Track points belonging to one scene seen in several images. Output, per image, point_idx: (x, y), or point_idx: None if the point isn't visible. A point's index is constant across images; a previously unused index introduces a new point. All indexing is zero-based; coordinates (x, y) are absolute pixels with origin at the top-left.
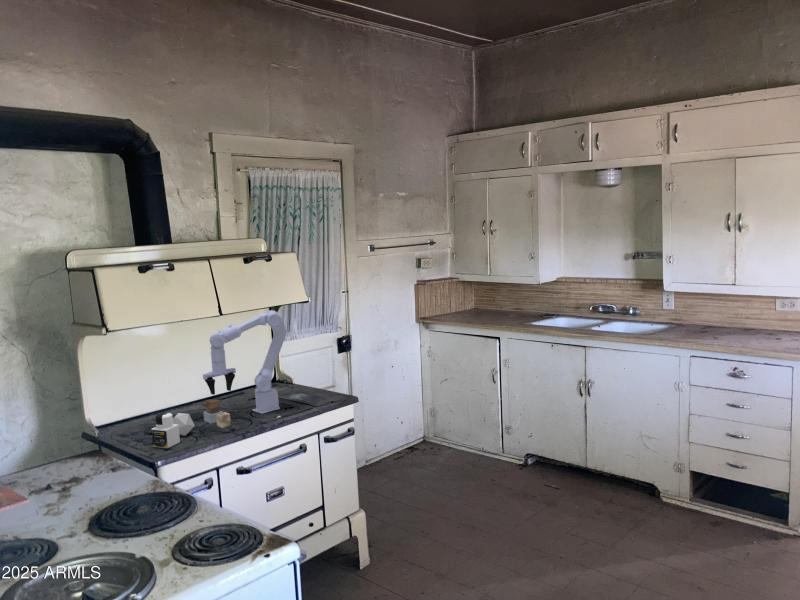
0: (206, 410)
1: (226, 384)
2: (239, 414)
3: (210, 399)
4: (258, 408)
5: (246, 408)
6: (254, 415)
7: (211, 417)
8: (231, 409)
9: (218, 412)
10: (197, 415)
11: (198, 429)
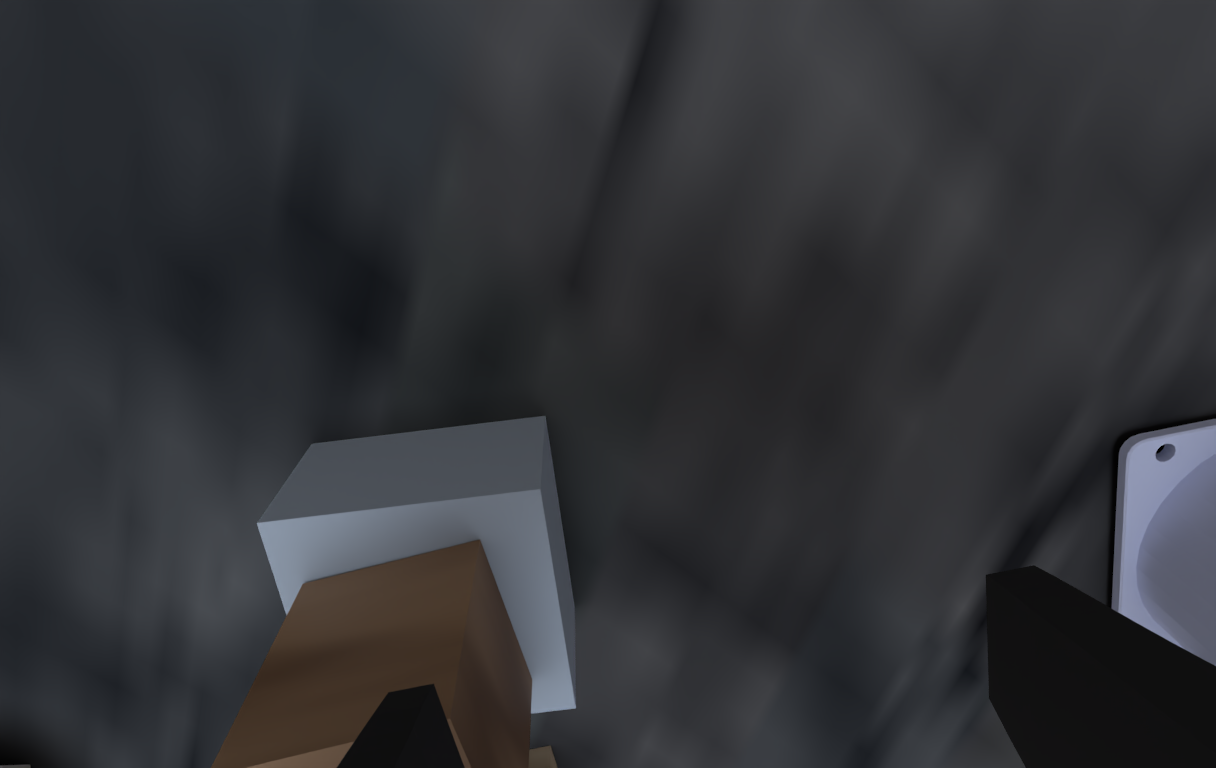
0: (295, 617)
1: (1129, 702)
2: (878, 483)
3: (348, 747)
4: (1168, 614)
5: (1146, 228)
6: None
7: None
8: (930, 91)
9: None
10: (248, 31)
11: (175, 761)
